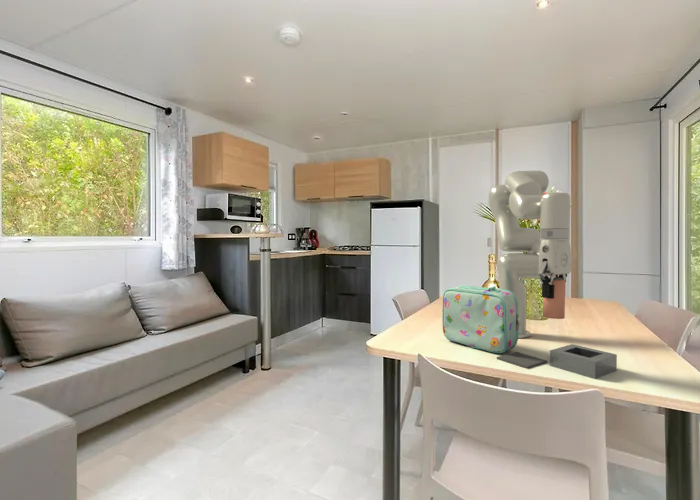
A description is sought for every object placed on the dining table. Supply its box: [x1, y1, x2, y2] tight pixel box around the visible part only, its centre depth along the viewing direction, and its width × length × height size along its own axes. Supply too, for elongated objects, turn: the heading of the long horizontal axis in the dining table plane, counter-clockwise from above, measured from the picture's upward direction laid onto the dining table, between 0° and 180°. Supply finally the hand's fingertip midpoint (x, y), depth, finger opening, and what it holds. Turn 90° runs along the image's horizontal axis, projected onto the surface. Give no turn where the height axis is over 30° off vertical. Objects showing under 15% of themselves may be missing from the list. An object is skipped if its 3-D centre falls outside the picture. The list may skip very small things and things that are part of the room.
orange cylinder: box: [542, 276, 566, 320], centre depth 106 cm, size 6×6×12 cm
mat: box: [496, 351, 548, 369], centre depth 110 cm, size 10×10×1 cm
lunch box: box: [441, 284, 521, 354], centre depth 125 cm, size 27×10×21 cm, turn 37°
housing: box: [549, 343, 618, 380], centre depth 104 cm, size 12×12×4 cm
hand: (553, 296), depth 106 cm, fingers closed on orange cylinder, 5 cm apart
